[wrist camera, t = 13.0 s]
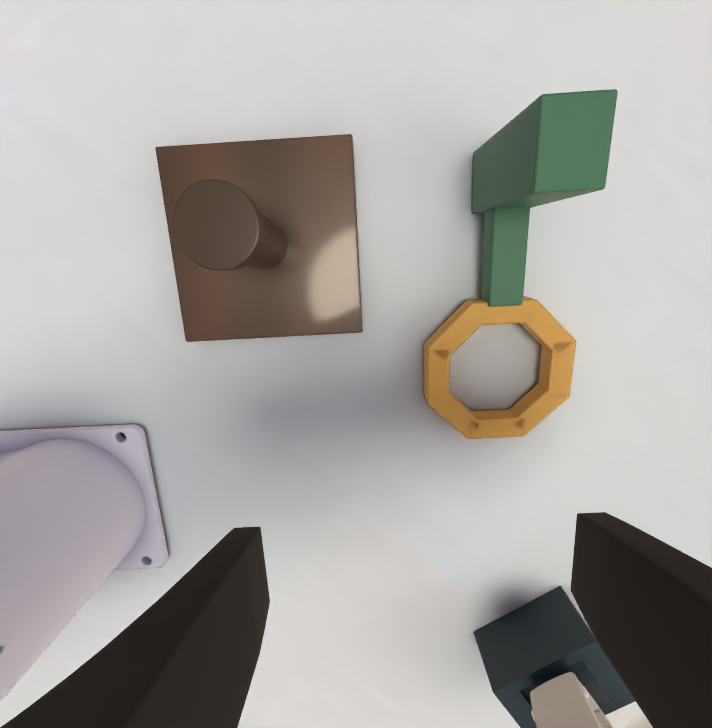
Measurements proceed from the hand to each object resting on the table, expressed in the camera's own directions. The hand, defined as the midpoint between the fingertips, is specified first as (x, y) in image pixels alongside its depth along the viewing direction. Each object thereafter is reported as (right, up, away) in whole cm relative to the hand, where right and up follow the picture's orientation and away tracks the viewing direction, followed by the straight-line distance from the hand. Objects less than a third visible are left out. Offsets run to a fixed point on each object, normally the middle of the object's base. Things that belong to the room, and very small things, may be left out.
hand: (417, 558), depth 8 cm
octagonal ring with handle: (+5, +7, +9) cm, 12 cm away
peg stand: (-5, +10, +8) cm, 14 cm away
